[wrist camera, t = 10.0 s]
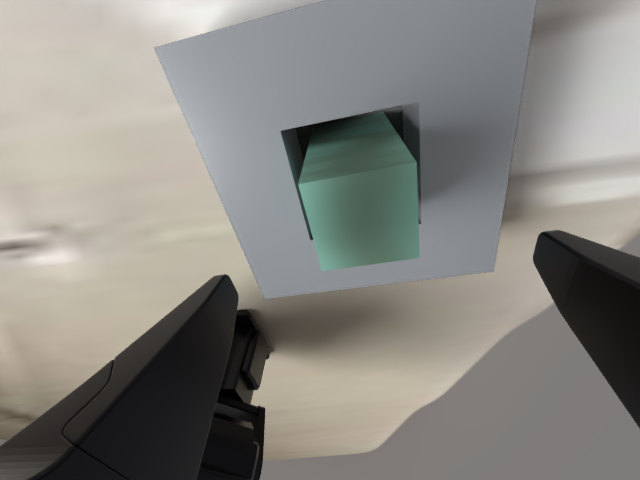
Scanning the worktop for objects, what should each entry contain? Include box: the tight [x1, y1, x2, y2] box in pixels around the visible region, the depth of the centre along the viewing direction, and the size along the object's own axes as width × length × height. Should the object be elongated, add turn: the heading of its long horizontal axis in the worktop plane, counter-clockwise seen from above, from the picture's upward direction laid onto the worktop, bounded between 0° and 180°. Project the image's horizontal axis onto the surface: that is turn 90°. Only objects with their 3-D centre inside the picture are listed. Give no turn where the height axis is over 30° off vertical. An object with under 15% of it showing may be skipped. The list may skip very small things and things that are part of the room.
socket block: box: [154, 0, 537, 299], centre depth 16 cm, size 14×14×4 cm
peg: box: [298, 112, 420, 271], centre depth 14 cm, size 4×4×8 cm
